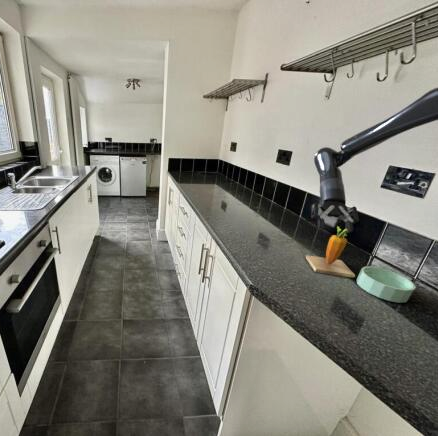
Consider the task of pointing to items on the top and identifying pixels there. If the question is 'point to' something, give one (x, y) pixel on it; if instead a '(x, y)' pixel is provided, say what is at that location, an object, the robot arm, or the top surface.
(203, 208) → the top surface
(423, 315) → the top surface
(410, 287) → the bowl
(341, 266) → the cutting board
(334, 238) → the carrot
